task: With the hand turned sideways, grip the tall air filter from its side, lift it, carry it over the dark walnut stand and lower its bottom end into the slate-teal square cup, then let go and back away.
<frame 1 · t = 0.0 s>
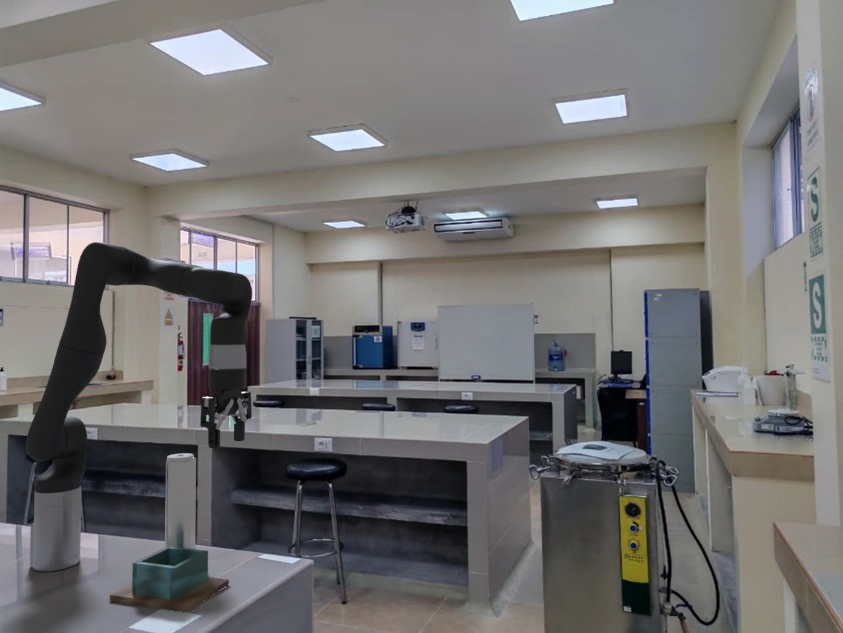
hand: (227, 444, 124), 29 cm above the table, tool pointing down, fingers open, 8 cm apart
air filter: (180, 567, 134), on the table
cup stand: (170, 593, 120), on the table
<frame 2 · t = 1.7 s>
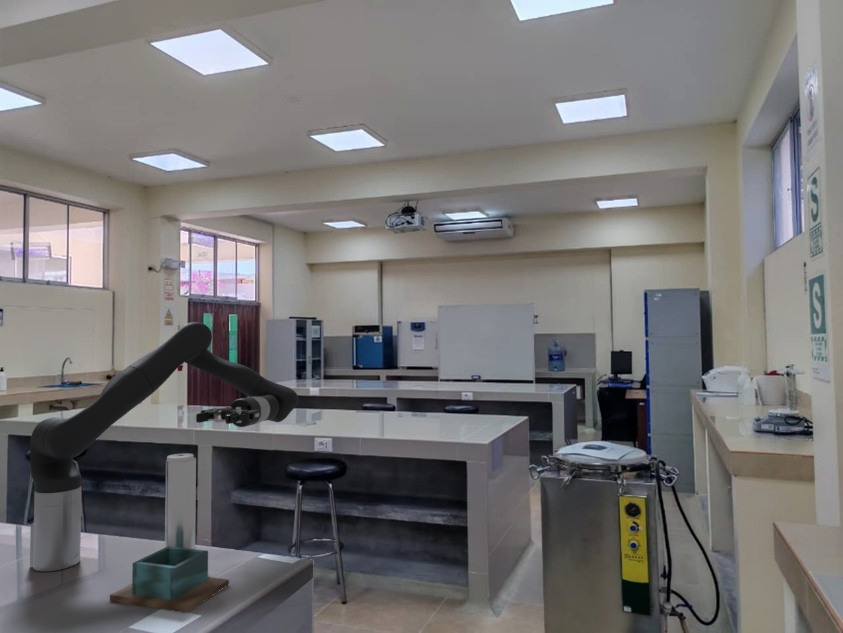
hand: (212, 418, 146), 32 cm above the table, tool horizontal, fingers open, 8 cm apart
nothing on the table moved.
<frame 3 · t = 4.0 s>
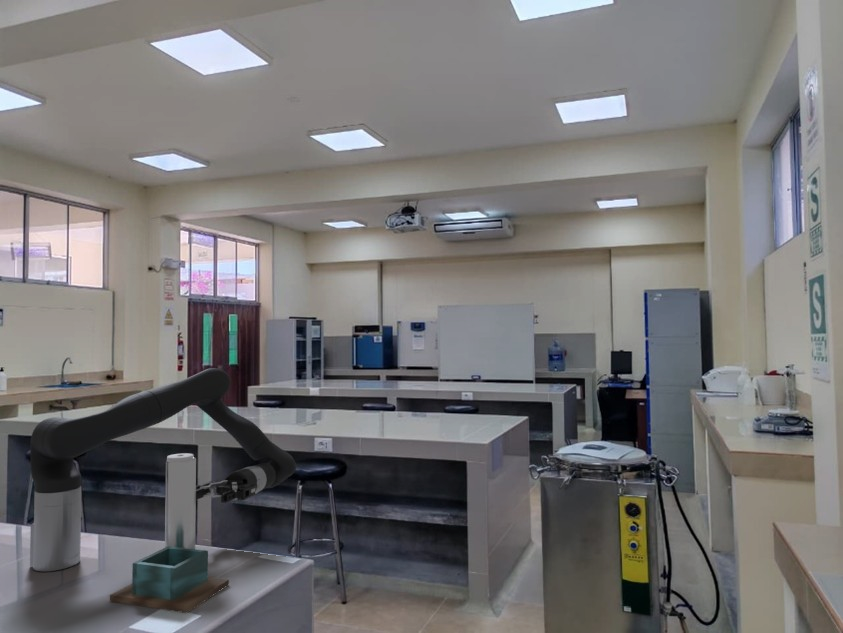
hand: (207, 497, 144), 13 cm above the table, tool horizontal, fingers open, 8 cm apart
nothing on the table moved.
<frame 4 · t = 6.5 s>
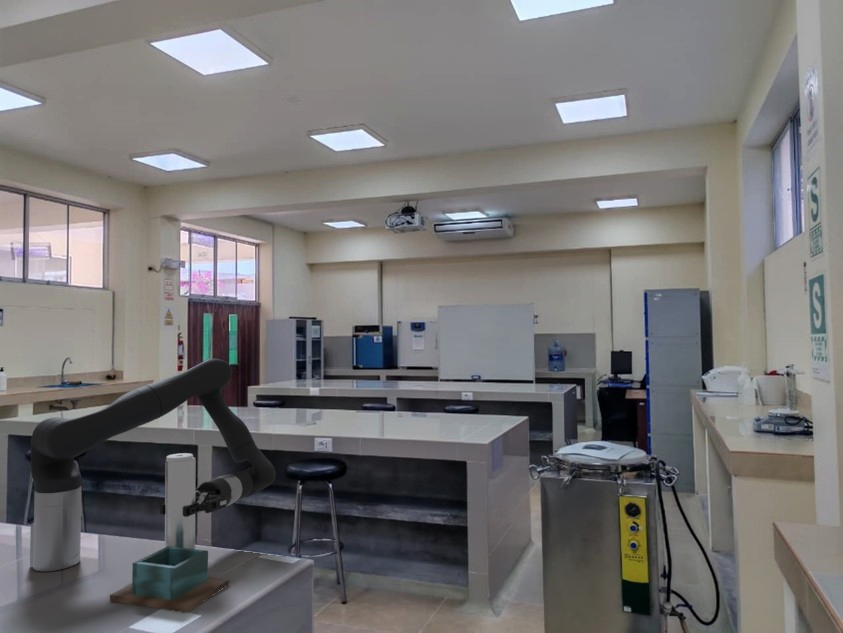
hand: (173, 511, 133), 13 cm above the table, tool horizontal, fingers closed on air filter, 5 cm apart
air filter: (180, 567, 134), on the table, touching gripper
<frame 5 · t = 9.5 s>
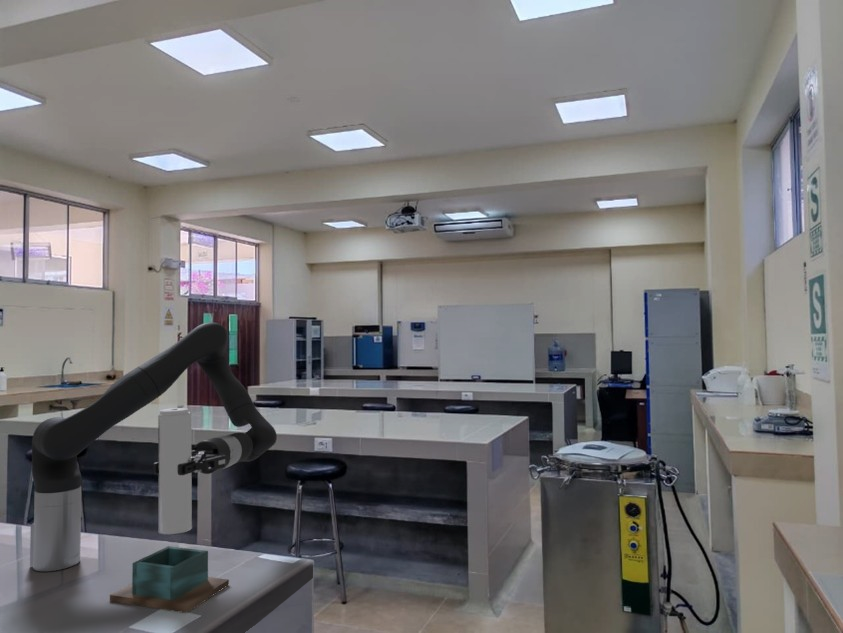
hand: (167, 469, 121), 25 cm above the table, tool horizontal, fingers closed on air filter, 5 cm apart
air filter: (175, 530, 123), point 12 cm above the table, touching gripper
when the fingers open (15 cm above the table, at t = 12.6 s): air filter stays where it is, resting on cup stand.
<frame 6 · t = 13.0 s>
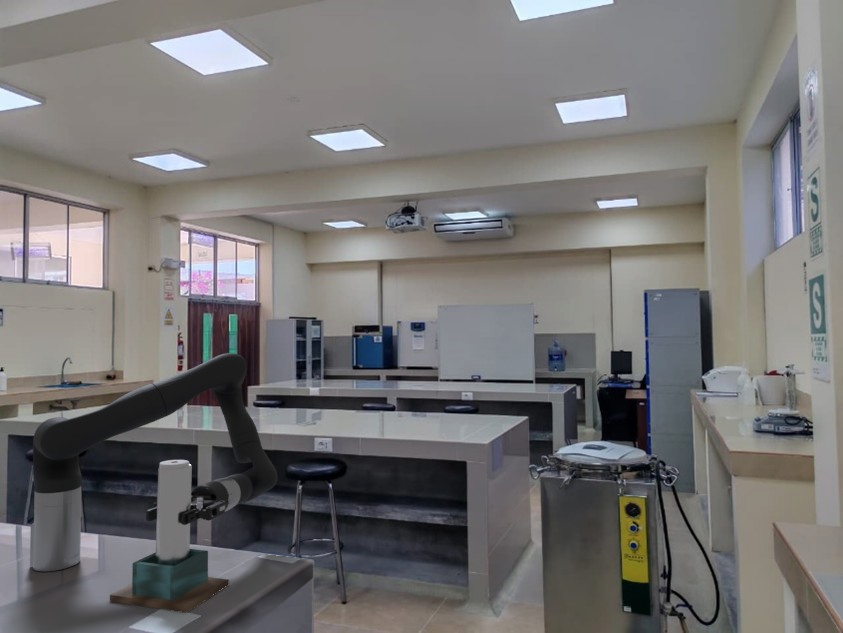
hand: (165, 517, 119), 16 cm above the table, tool horizontal, fingers open, 8 cm apart
air filter: (171, 587, 120), point 1 cm above the table, touching cup stand
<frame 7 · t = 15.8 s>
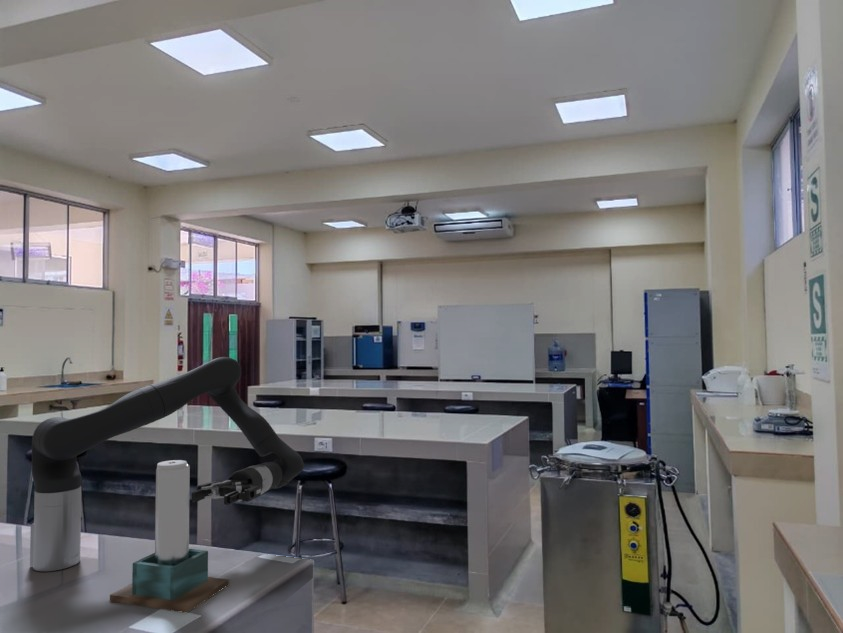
hand: (209, 499, 132), 16 cm above the table, tool horizontal, fingers open, 8 cm apart
nothing on the table moved.
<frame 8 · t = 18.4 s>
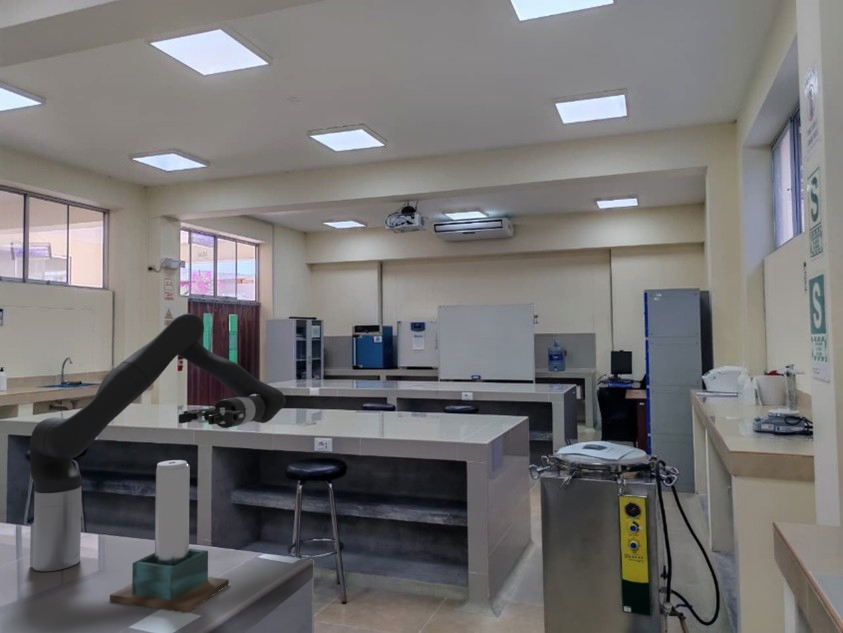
hand: (194, 419, 143), 32 cm above the table, tool horizontal, fingers open, 8 cm apart
nothing on the table moved.
at the end: air filter 0.2 cm off-centre on the cup stand, point 1.0 cm above the cup stand's base; air filter tilted 0°; the gripper is holding nothing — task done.
